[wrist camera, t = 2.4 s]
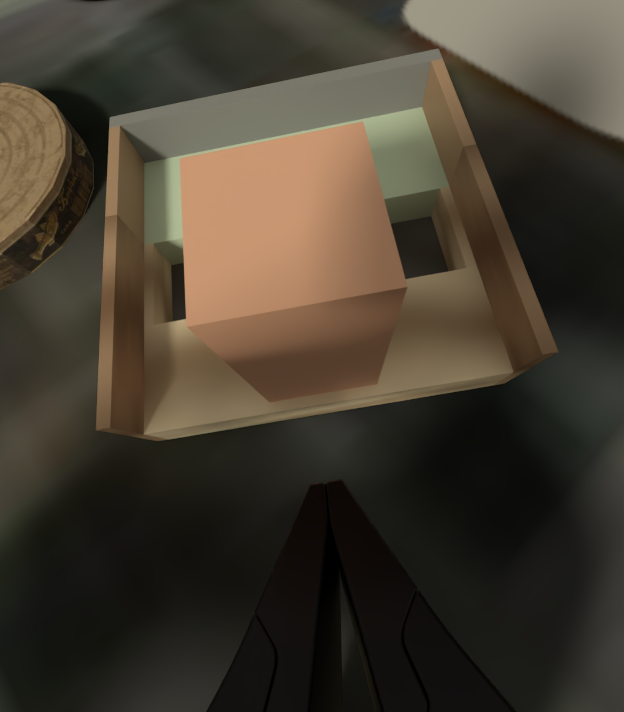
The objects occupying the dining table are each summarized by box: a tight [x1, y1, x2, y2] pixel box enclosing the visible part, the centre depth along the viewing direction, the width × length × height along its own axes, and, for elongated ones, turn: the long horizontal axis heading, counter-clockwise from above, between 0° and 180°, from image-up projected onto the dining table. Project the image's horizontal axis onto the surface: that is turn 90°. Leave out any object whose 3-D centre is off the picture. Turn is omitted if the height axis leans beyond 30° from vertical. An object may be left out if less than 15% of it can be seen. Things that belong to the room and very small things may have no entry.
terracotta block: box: [180, 122, 407, 402], centre depth 13 cm, size 5×5×9 cm
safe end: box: [105, 49, 476, 265], centre depth 21 cm, size 7×18×5 cm, turn 99°
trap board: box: [96, 144, 558, 441], centre depth 18 cm, size 10×18×5 cm, turn 99°
